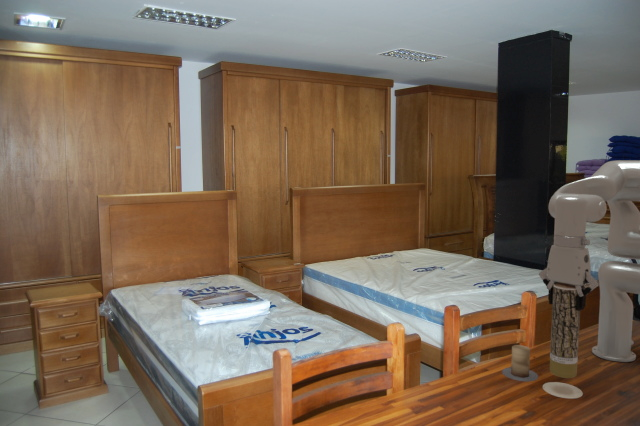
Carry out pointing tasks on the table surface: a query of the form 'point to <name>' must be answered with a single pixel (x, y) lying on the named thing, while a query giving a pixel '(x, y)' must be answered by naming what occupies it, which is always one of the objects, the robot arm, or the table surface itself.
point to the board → (531, 377)
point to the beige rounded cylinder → (520, 361)
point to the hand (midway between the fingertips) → (566, 306)
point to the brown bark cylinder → (564, 331)
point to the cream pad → (562, 390)
